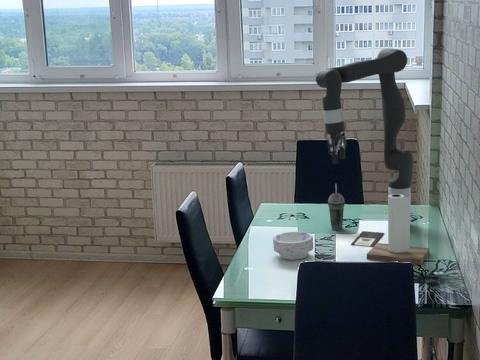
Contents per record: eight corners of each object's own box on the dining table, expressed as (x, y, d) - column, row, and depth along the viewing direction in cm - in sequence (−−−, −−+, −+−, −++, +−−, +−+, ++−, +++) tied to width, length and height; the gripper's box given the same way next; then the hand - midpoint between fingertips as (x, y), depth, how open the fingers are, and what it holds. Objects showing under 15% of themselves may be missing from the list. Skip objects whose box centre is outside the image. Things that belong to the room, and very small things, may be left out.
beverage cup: (345, 225, 306) (344, 181, 302) (345, 230, 299) (345, 184, 295) (328, 226, 307) (327, 181, 303) (328, 231, 300) (327, 185, 296)
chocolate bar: (383, 232, 292) (373, 245, 276) (383, 234, 292) (373, 248, 276) (362, 231, 296) (351, 243, 280) (362, 233, 296) (351, 246, 280)
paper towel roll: (384, 249, 266) (384, 194, 261) (398, 247, 268) (398, 192, 264) (396, 255, 259) (396, 198, 255) (409, 252, 262) (410, 196, 257)
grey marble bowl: (267, 253, 274) (266, 234, 273) (302, 247, 280) (302, 228, 278) (283, 265, 261) (282, 244, 259) (320, 258, 266) (320, 238, 264)
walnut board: (377, 247, 275) (377, 243, 274) (429, 253, 266) (429, 248, 265) (366, 259, 263) (366, 253, 262) (420, 265, 254) (420, 259, 253)
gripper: (336, 123, 266) (342, 164, 270) (349, 116, 279) (354, 156, 282) (318, 124, 270) (324, 166, 273) (331, 118, 282) (336, 157, 285)
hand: (339, 161), depth 278 cm, fingers open, 8 cm apart
